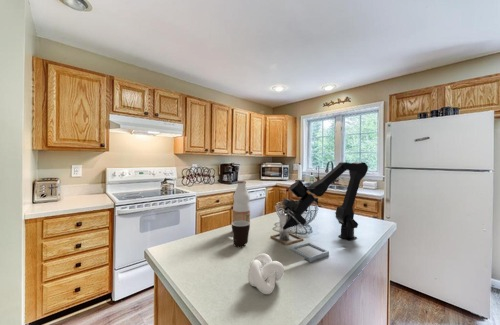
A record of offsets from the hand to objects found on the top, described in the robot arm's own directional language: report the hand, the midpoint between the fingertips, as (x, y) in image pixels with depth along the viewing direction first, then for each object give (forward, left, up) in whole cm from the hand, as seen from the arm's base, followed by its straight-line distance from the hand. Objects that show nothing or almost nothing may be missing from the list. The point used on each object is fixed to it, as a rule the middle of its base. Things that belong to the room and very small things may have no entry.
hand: (281, 227), depth 106 cm
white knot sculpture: (+28, +26, -7) cm, 38 cm away
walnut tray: (-2, +1, -7) cm, 8 cm away
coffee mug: (+18, -8, -7) cm, 21 cm away
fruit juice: (+10, -22, -7) cm, 26 cm away
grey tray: (-1, +17, -7) cm, 18 cm away
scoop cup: (-1, +1, -6) cm, 6 cm away
